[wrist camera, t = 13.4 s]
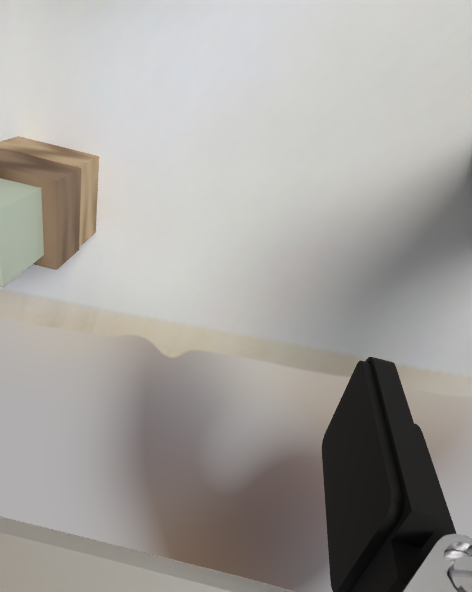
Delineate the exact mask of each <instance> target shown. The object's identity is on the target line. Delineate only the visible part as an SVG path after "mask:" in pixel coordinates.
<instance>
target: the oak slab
mask: <svg viewBox="0 0 472 592" xmlns="http://www.w3.org/2000/svg"><path fill="white" fill-rule="evenodd" d="M0 148H3V149H7V150H11V151H14V152H18V153H22V154H26V155H30V156H34V157H38V158H42V159H46V160H50V161H54V162H58V163H62V164H66V165H70V166H74V167H78V168H82V169H81V201H80V234H79V246H81V245H82V244H83V243H84V242H85V241H86V240H87V239H89V238H90V237H91V236H92V235H93V234H94V233H95V232H96V213H97V191H98V169H99V156H96V155H92V154H88V153H84V152H79V151H75V150H71V149H67V148H63V147H59V146H55V145H51V144H47V143H43V142H39V141H35V140H31V139H27V138H23V137H19V136H18V137H15V138H12V139H8V140H5V141H1V142H0Z"/></svg>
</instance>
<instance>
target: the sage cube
mask: <svg viewBox="0 0 472 592" xmlns="http://www.w3.org/2000/svg"><path fill="white" fill-rule="evenodd" d="M43 255H44V243H43V218H42V192H41V188H40V187H35V186H31V185H27V184H22V183H18V182H14V181H10V180H5V179H1V178H0V287H2V288H3V287H4V286H6V285H7V284H8V283H9V282H11V281H12V280H13V279H14V278H16V277H17V276H18V275H19V274H21V273H22V272H23V271H24V270H26V269H27V268H28V267H29V266H31V265H32V264H33V263H34V262H36V261H37V260H38V259H40V258H41V257H42V256H43Z"/></svg>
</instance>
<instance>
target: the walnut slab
mask: <svg viewBox="0 0 472 592" xmlns="http://www.w3.org/2000/svg"><path fill="white" fill-rule="evenodd" d="M81 169H82V168H78V167H74V166H70V165H66V164H62V163H58V162H54V161H50V160H46V159H42V158H38V157H34V156H30V155H26V154H22V153H18V152H14V151H11V150H7V149H3V148H0V178H1V179H5V180H10V181H14V182H18V183H22V184H27V185H31V186H35V187H40V188H41V192H42V218H43V243H44V255H43V256H42V257H41V258H40V259H38V260H37V261H36V262H34V263H33V264H35V265H39V266H43V267H47V268H51V269H55V270H57V269H58V268H59V267H60V266H61V265H63V264H64V263H65V262H66V261H67V260H68V259H69V258H70V257H71V256H73V255H74V254H75V253H76V252H77V251H78V250H79V234H80V201H81Z"/></svg>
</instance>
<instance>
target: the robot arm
mask: <svg viewBox="0 0 472 592" xmlns="http://www.w3.org/2000/svg"><path fill="white" fill-rule="evenodd" d="M322 459H323V474H324V487H325V504H326V517H327V534H328V547H329V548H328V549H329V564H330V578H331V587H332V590H333V592H472V538H470V537H468V536H465V535H458V534H456V531H455V528H454V525H453V522H452V520H451V516H450V514H449V510H448V507H447V505H446V502H445V499H444V496H443V492H442V489H441V487H440V484H439V481H438V478H437V475H436V472H435V469H434V466H433V463H432V460H431V457H430V454H429V451H428V448H427V445H426V442H425V439H424V436H423V433H422V431H421V429H420V427H419V426H418V425H417V424H414V422H413V419H412V416H411V413H410V410H409V407H408V403H407V400H406V397H405V394H404V391H403V388H402V385H401V382H400V379H399V375H398V372H397V369H396V366H395V364H394V363H393V362H389V361H385V360H381V359H377V358H373V357H369V358H368V359H367V360H366V362H364V361H359V362H358V364H357V365H356V368H355V370H354V372H353V374H352V376H351V378H350V381H349V383H348V385H347V387H346V389H345V392H344V394H343V396H342V398H341V401H340V403H339V405H338V407H337V409H336V411H335V413H334V415H333V418H332V420H331V422H330V424H329V426H328V429H327V431H326V433H325V435H324V438H323V443H322ZM0 592H295V591H292V590H288V589H284V588H281V587H277V586H273V585H269V584H266V583H262V582H258V581H255V580H251V579H247V578H244V577H240V576H236V575H232V574H228V573H224V572H220V571H216V570H212V569H208V568H204V567H200V566H196V565H192V564H188V563H184V562H180V561H177V560H172V559H169V558H165V557H161V556H156V555H153V554H148V553H145V552H141V551H137V550H133V549H129V548H125V547H121V546H117V545H113V544H109V543H105V542H101V541H97V540H93V539H89V538H85V537H80V536H77V535H73V534H68V533H65V532H60V531H57V530H53V529H49V528H45V527H41V526H37V525H32V524H28V523H24V522H20V521H16V520H12V519H8V518H4V517H0Z"/></svg>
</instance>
